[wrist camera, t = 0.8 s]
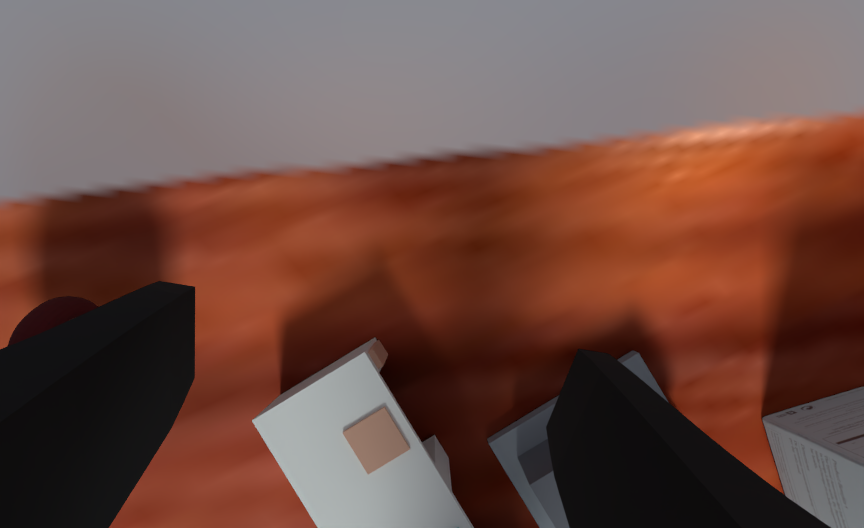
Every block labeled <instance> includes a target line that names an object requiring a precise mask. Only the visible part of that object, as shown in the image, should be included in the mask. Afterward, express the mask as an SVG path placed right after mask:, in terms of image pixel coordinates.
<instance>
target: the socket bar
mask: <svg viewBox="0 0 864 528" xmlns="http://www.w3.org/2000/svg"><path fill="white" fill-rule="evenodd" d="M387 356H388V353H387V352H386V350H385V349H384V347H383V345H382V344H381V342H380V340H376V338H373V339H371V340H370V341H368V342H366V343H365V344H363V345H361V346H360V347H358V348H357V349H355V350H353V351H352V352H350V353H348V354H347V355H345V356H343V357H342V358H340V359H338V360H337V361H335V362H334V363H332V364H330V365H329V366H327V367H325V368H324V369H322V370H320V371H319V372H317V373H315V374H314V375H312V376H310V377H309V378H307V379H306V380H304V381H302V382H301V383H299V384H297V385H296V386H294V387H292V388H291V389H289V390H287V391H286V392H284V393H283V394H281V395H280V396H278V397H277V398H276V399H275V400H274V401H273V402H272V403H271V404H270V405H268V406H267V407H266V408H265V409H264V410H263V411H262V412H261V413H260V414H259V415H257V416H256V417H255V418H254V419H253V420H252V422H253V423H254V425H255V427H256V428H257V430H258V431H259V433H260V435H261V436H262V438H263V440H264V441H265V443H266V444H267V446H268V448H269V449H270V451H271V453H272V454H273V456H274V457H275V459H276V461H277V462H278V464H279V466H280V467H281V469H282V470H283V472H284V474H285V475H286V477H287V479H288V480H289V482H290V483H291V485H292V487H293V488H294V490H295V492H296V493H297V495H298V496H299V498H300V500H301V501H302V503H303V505H304V506H305V508H306V509H307V511H308V513H309V514H310V516H311V518H312V519H313V521H314V522H315V524H316V526H317V527H318V528H474V527H473V525H472V524H471V522H470V520H469V519H468V517H467V515H466V514H465V512H464V510H463V509H462V507H461V506H460V504H459V502H458V501H457V499H456V497H455V496H454V494H453V492H452V487H451V476H450V466H449V458H448V456H447V454H446V453H445V451H444V449H443V448H442V446H441V444H440V443H439V441H438V439H437V438H436V436H435V435H433V436H432V437H430V438H428V439H427V440H425V441H423V442H421V440H420V438H419V437H418V435H417V434H416V432H415V430H414V429H413V427H412V425H411V424H410V422H409V420H408V419H407V417H406V416H405V414H404V412H403V411H402V409H401V407H400V406H399V404H398V402H397V401H396V399H395V398H394V396H393V394H392V393H391V391H390V389H389V388H388V386H387V384H386V383H385V381H384V380H383V378H382V376H381V375H380V373H379V372H380V370H381V368H382V367H383V366H384V363H385V361H386V359H387Z"/></svg>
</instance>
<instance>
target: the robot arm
mask: <svg viewBox="0 0 864 528" xmlns="http://www.w3.org/2000/svg"><path fill="white" fill-rule="evenodd" d="M194 378H195V287H193V286H187V285H180V284H174V283H168V282H162V281H158V282H156V283H153V284H150V285H148V286H145V287H143V288H140V289H138V290H136V291H133V292H131V293H129V294H127V295H124V296H122V297H120V298H118V299H116V300H113V301H111V302H109V303H107V304H105V305H102V306H100V307H98V308H96V309H94V310H91V311H89V312H87V313H85V314H82V315H80V316H78V317H76V318H73V319H71V320H69V321H67V322H65V323H62V324H60V325H58V326H56V327H53V328H51V329H49V330H47V331H44V332H42V333H40V334H37V335H35V336H32V337H30V338H27V339H25V340H22V341H20V342H18V343H15V344H13V345H10V346H8V347H5V348H3V349H0V528H109V526H110V525H111V523H112V522H113V520H114V519H115V517H116V515H117V514H118V512H119V511H120V509H121V508H122V506H123V504H124V503H125V501H126V500H127V498H128V496H129V495H130V493H131V492H132V490H133V489H134V487H135V485H136V484H137V482H138V481H139V479H140V478H141V476H142V474H143V473H144V471H145V470H146V468H147V466H148V465H149V463H150V462H151V460H152V458H153V457H154V455H155V454H156V452H157V450H158V449H159V447H160V446H161V444H162V442H163V441H164V439H165V438H166V436H167V434H168V433H169V431H170V429H171V428H172V426H173V424H174V421H175V419H176V417H177V415H178V413H179V411H180V409H181V407H182V405H183V403H184V400H185V398H186V396H187V394H188V391H189V389H190V387H191V385H192V382H193V380H194ZM546 431H547V437H548V444H549V450H550V456H551V462H552V467H553V473H554V477H555V481H556V484H557V488H558V491H559V495H560V498H561V501H562V504H563V508H564V511H565V514H566V518H567V521H568V524H569V527H570V528H831V527H829V526H828V525H826V524H825V523H824V522H822V521H821V520H819V519H818V518H816V517H815V516H814V515H812V514H811V513H809V512H808V511H806V510H805V509H803V508H802V507H801V506H799V505H798V504H796V503H795V502H793V501H792V500H790V499H789V498H788V497H786V496H785V495H784V494H782V493H781V492H779V491H778V490H777V489H775V488H774V487H773V486H771V485H770V484H769V483H767V482H766V481H765V480H763V479H762V478H761V477H759V476H758V475H757V474H756V473H754V472H753V471H752V470H750V469H749V468H748V467H747V466H745V465H744V464H743V463H741V462H740V461H739V460H738V459H736V458H735V457H734V456H732V455H731V454H730V453H729V452H727V451H726V450H725V449H724V448H722V447H721V446H720V445H719V444H717V443H716V442H715V441H714V440H712V439H711V438H710V437H709V436H708V435H706V434H705V433H704V432H703V431H702V430H700V429H699V428H698V427H697V426H696V425H694V424H693V423H692V422H691V421H690V420H688V419H687V418H686V417H685V416H684V415H682V414H681V413H680V412H679V411H678V410H677V409H675V408H674V407H673V406H672V405H671V404H670V403H668V402H667V401H666V400H665V399H664V398H663V397H661V396H660V395H659V394H658V393H657V392H655V391H654V390H653V389H652V388H651V387H650V386H648V385H647V384H646V383H645V382H644V381H643V380H641V379H640V378H639V377H638V376H637V375H635V374H634V373H633V372H632V371H630V370H629V369H628V368H627V367H625V366H624V365H623V364H622V363H620V362H619V361H618V360H616V359H615V358H614V357H612V356H611V355H609V354H607V353H601V352H595V351H589V350H583V349H578V351H577V353H576V356H575V358H574V361H573V363H572V366H571V368H570V370H569V373H568V375H567V378H566V380H565V382H564V385H563V387H562V390H561V392H560V394H559V397H558V399H557V402H556V404H555V407H554V409H553V411H552V414H551V416H550V419H549V421H548V423H547V426H546Z"/></svg>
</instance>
